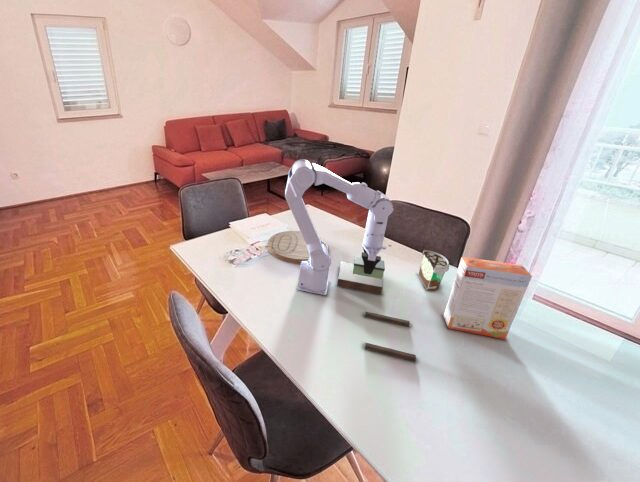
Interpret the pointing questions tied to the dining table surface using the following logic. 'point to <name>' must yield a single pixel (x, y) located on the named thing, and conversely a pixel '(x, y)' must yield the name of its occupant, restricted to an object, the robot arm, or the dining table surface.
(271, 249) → the trivet
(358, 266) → the box
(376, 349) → the bay rails
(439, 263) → the food container
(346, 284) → the white-topped slab
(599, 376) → the dining table surface
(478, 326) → the cracker box
